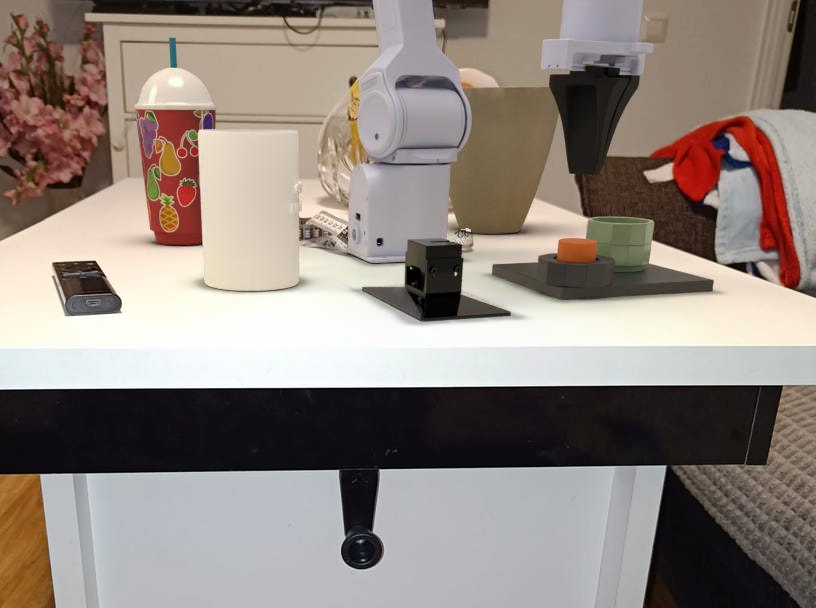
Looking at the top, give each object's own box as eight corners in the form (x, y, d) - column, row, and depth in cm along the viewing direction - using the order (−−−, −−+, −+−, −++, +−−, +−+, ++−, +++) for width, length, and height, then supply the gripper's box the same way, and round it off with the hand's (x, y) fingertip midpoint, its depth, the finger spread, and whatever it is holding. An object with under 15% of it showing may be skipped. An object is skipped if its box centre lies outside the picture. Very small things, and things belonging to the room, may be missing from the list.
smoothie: (237, 240, 102) (231, 39, 94) (186, 249, 95) (175, 33, 88) (179, 234, 106) (169, 41, 98) (127, 243, 99) (111, 36, 92)
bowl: (605, 274, 78) (611, 224, 76) (571, 263, 82) (576, 217, 81) (660, 271, 79) (667, 222, 78) (623, 261, 84) (629, 215, 82)
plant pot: (479, 220, 122) (487, 88, 116) (576, 231, 112) (590, 87, 106) (400, 229, 112) (405, 86, 106) (498, 242, 102) (509, 85, 96)
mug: (283, 265, 86) (281, 127, 82) (311, 289, 76) (311, 131, 71) (194, 268, 84) (187, 127, 80) (210, 292, 74) (203, 131, 69)
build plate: (512, 318, 66) (517, 252, 65) (417, 325, 64) (420, 257, 62) (440, 286, 77) (442, 228, 75) (357, 291, 75) (358, 232, 73)
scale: (559, 302, 71) (562, 265, 70) (486, 275, 82) (488, 243, 81) (716, 293, 75) (722, 258, 74) (627, 268, 86) (631, 238, 85)
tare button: (568, 266, 72) (571, 243, 71) (549, 260, 75) (551, 238, 74) (602, 265, 73) (605, 242, 72) (582, 259, 76) (584, 237, 75)
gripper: (619, -38, 60) (595, 182, 65) (693, -16, 71) (667, 172, 76) (521, -31, 64) (505, 176, 69) (604, -11, 75) (585, 167, 80)
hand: (584, 174), depth 73 cm, fingers closed
